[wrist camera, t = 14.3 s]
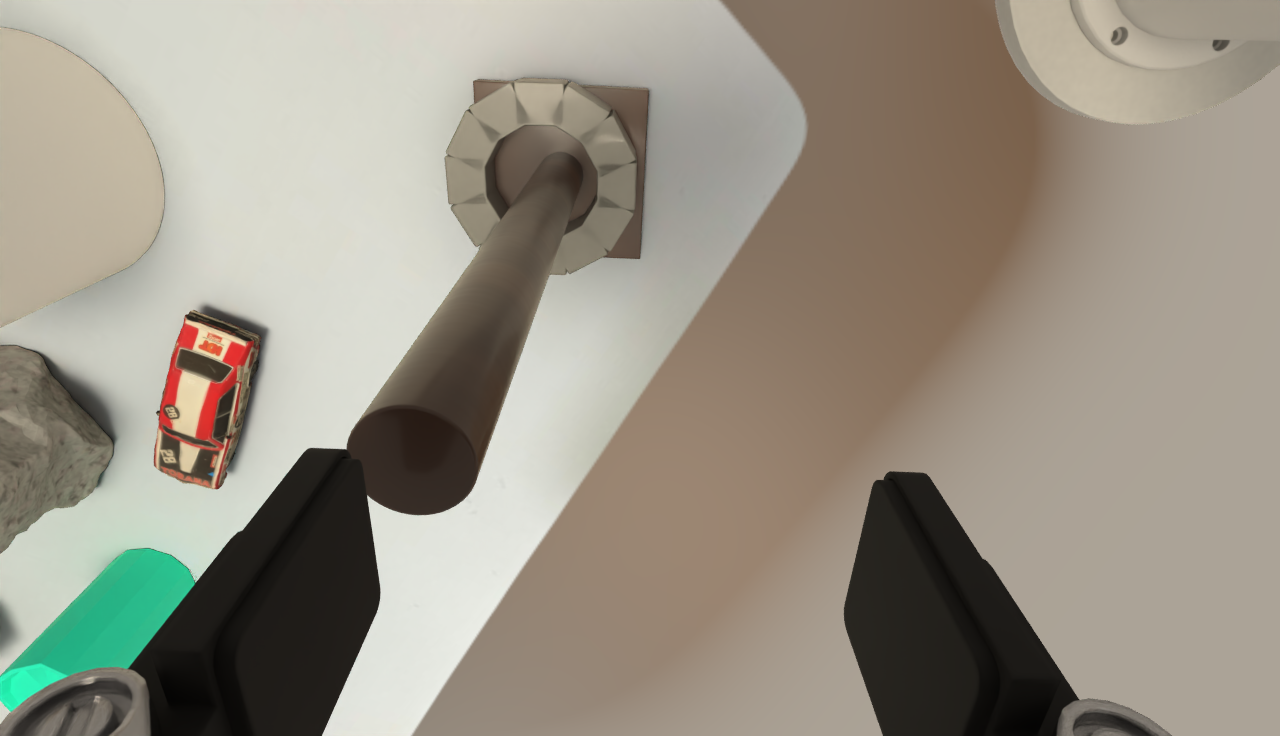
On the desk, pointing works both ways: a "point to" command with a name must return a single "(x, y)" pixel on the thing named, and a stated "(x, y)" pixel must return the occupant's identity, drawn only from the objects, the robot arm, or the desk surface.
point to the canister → (67, 177)
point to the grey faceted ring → (574, 116)
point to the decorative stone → (42, 444)
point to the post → (487, 318)
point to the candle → (101, 623)
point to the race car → (205, 400)
